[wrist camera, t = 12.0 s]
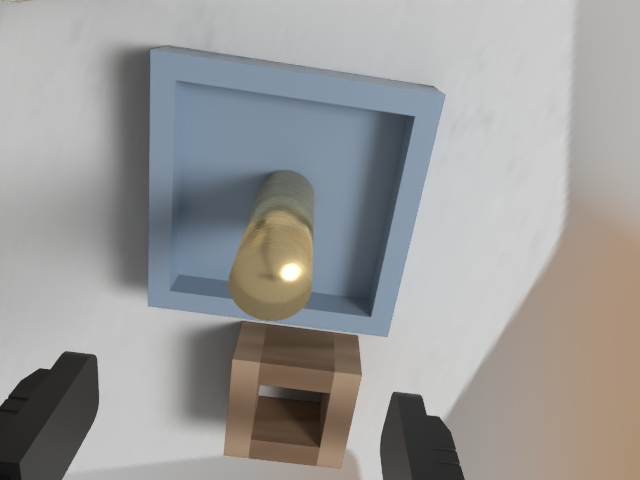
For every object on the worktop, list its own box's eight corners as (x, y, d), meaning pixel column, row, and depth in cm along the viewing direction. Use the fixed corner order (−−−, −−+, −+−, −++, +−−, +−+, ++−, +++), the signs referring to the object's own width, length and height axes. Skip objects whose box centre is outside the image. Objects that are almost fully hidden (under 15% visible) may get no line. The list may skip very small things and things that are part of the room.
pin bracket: (242, 321, 33) (232, 359, 30) (357, 335, 34) (361, 375, 30) (233, 410, 36) (223, 455, 33) (339, 423, 37) (340, 468, 33)
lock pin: (262, 165, 28) (233, 241, 19) (319, 175, 28) (318, 255, 19) (254, 218, 29) (224, 313, 20) (309, 228, 30) (303, 326, 20)
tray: (168, 45, 27) (150, 49, 24) (433, 86, 27) (445, 94, 25) (163, 280, 32) (147, 306, 30) (382, 309, 33) (387, 337, 30)
